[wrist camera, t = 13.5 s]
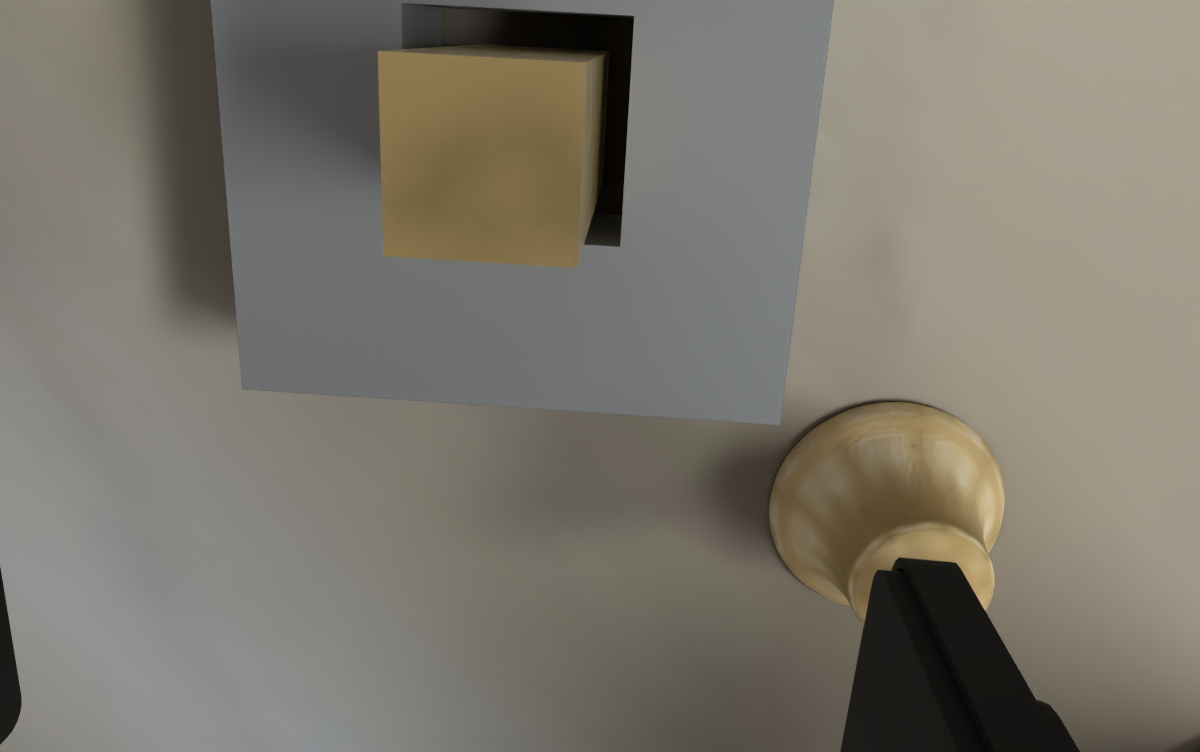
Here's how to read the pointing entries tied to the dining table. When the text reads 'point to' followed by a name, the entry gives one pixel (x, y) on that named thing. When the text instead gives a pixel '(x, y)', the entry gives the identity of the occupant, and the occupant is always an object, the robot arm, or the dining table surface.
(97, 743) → the dining table surface
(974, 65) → the dining table surface
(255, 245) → the well block
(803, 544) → the hand bell
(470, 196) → the wooden square peg
